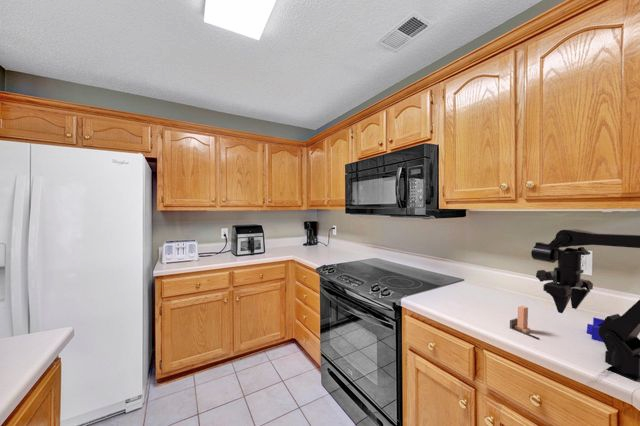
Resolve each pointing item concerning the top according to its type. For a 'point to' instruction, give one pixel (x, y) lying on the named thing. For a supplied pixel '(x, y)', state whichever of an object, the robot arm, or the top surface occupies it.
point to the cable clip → (595, 329)
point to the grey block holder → (512, 324)
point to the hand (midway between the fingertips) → (567, 310)
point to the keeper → (522, 319)
